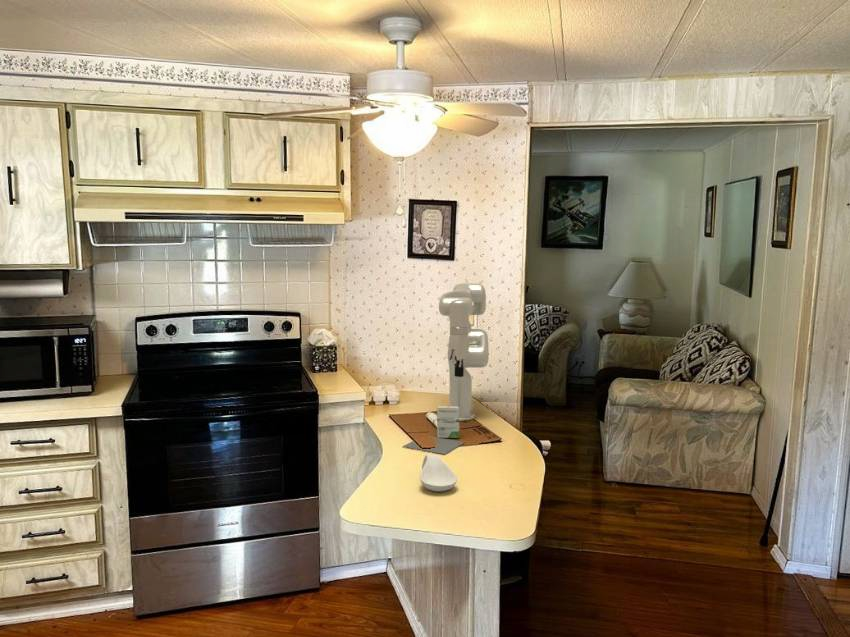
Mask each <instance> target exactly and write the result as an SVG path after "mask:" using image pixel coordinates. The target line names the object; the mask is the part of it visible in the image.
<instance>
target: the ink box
mask: <svg viewBox="0 0 850 637" xmlns="http://www.w3.org/2000/svg"><path fill="white" fill-rule="evenodd" d="M436 433H437V434H436V435H437V436H436V437H437V438H443V439H459V438H460V421H459V407H455V406H446V405H445V406H443V405H441V406H440V405H439V406H437V408H436Z"/></svg>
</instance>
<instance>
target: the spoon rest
mask: <svg viewBox="0 0 850 637" xmlns="http://www.w3.org/2000/svg"><path fill="white" fill-rule="evenodd" d="M419 481H420V483H421V484H422V485H423V487H424V488H425V489H427V490H429V491H432V492H439V493H440V492H446V491H448V490H451V489H452V488H453V487H454V486H455V485H456V483H457V482H458V477H457V475H456V474H455V473H454V471H453V470H452V469H451V468H450V467H449V466H447V465H446V463H445V462H444V461H443V460H442V459H441V458H440V457H439V456H438V454H436V453H433V454H426V455H425V456H424V459H423V461H422V465H421V472H420V475H419Z"/></svg>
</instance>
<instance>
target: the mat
mask: <svg viewBox="0 0 850 637" xmlns="http://www.w3.org/2000/svg"><path fill="white" fill-rule="evenodd" d="M429 436H430V435H429ZM429 438H433V439H437V440H435V441H440V442H442V443H439V442H435V443H436V444H437V446H436V447H435V448H431V449H422V448H420V447H419V446H418V445H417V444H416V443H414V440H412V441H411V442H408V443H407V444H404V445H402V448H403V447H406V448H405V449H409V448H412V449H411V450H414V449H417V450H416V451H419V450H422V451H421V452H425V451H428V452H427V453H430V452H432V453H431V454H436V455H442V456H446V455H448V454H449V453H452V452H453V451H454V450H456V449H457V448H460V447H461V446H462V444H463V443H464V444H465V443H466V442H465V441H460V440H454V439H450V438H438V437H437V436H436V437H435V436H430V437H429ZM464 444H463V445H464ZM460 445H461V446H460Z"/></svg>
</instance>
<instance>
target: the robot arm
mask: <svg viewBox="0 0 850 637" xmlns="http://www.w3.org/2000/svg"><path fill="white" fill-rule="evenodd" d="M438 302H439V303H438V310H439V313H440V315H441V316H444V317H448V318H449V337H448V346H447V347H448V348H447V361H448V362H447V363H448V369H449V371H448V372H449V402H448V403H449V404H448V405H449V406H455V407H459V422H461V421H464V422H465V420H466V421H471V420H474V419H475V418H476V414H475V413H474V412H473V411H472V409H474V408H475V404H473V403H472V390H473V389H472V388H473V387H472V384H473V383H472V382H473V381H472V380H473V379H472V376H471V374H470V372H469V371H468V369H469V368H473V369H474V368H479V369H480V368H485V367H486V366H487V365H488V364H489V360H490V359H489V352H490V351H489V335H488V333H487V331H486V330H484V329H482V328H481V329H480V328H479V329H478V328H472V323H471V322H470V318H469V317H470V316H482V315H483V314H485V312H486V310H487V294H486V289H485V286H484V285H483V284H481V283H459V284H456V285H454V287H453V288H452V290H451V291H449V292H446V293H443V294H442V295H441V296H440V298H439V301H438ZM467 368H468V369H467Z"/></svg>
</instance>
